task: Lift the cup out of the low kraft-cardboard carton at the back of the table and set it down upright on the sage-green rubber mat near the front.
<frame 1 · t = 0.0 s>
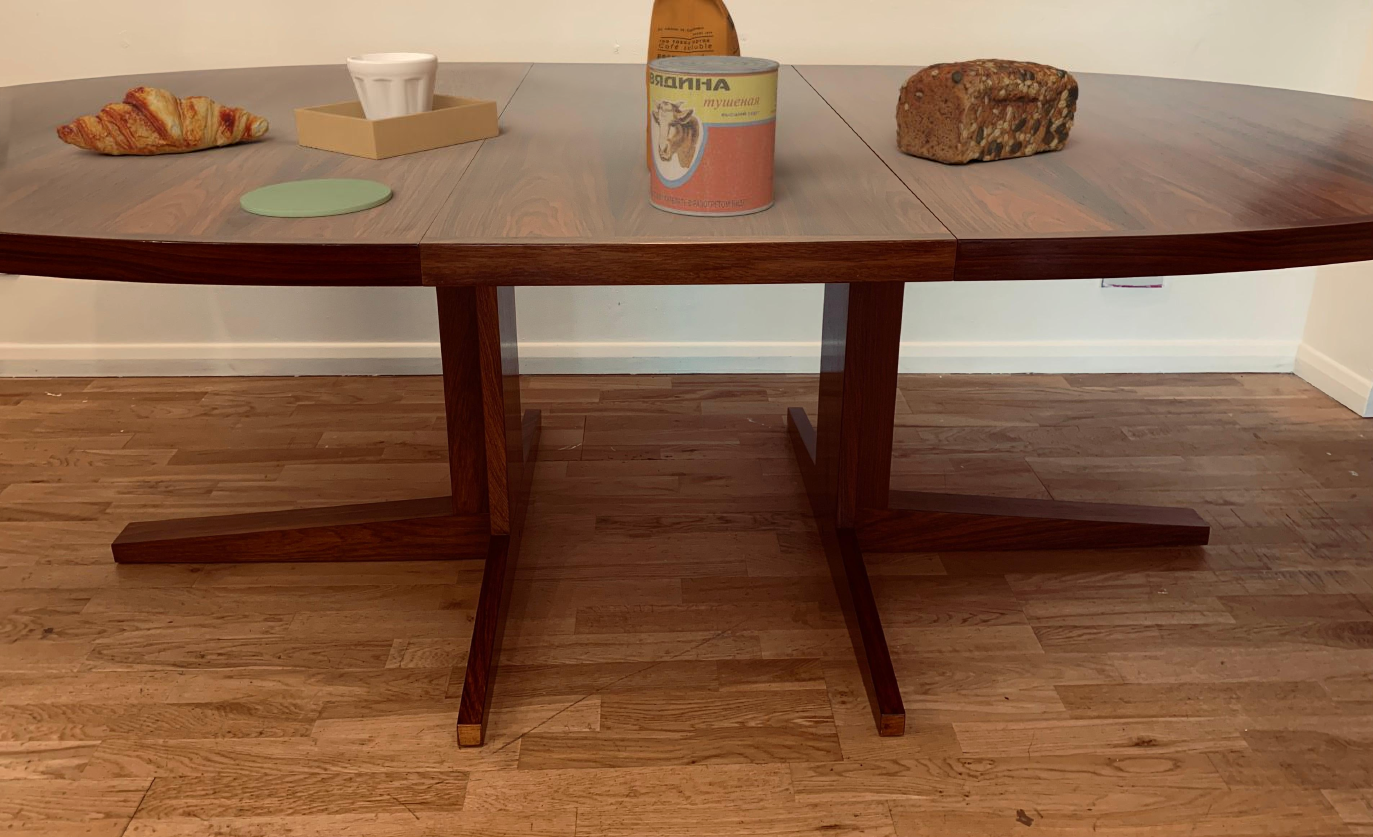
cup: (401, 142, 118), resting in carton
coffee package: (695, 165, 108), on the table
croissant: (172, 150, 113), on the table
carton: (401, 140, 118), on the table
mat: (317, 199, 92), on the table
bread: (981, 153, 114), on the table
canned food: (711, 203, 92), on the table
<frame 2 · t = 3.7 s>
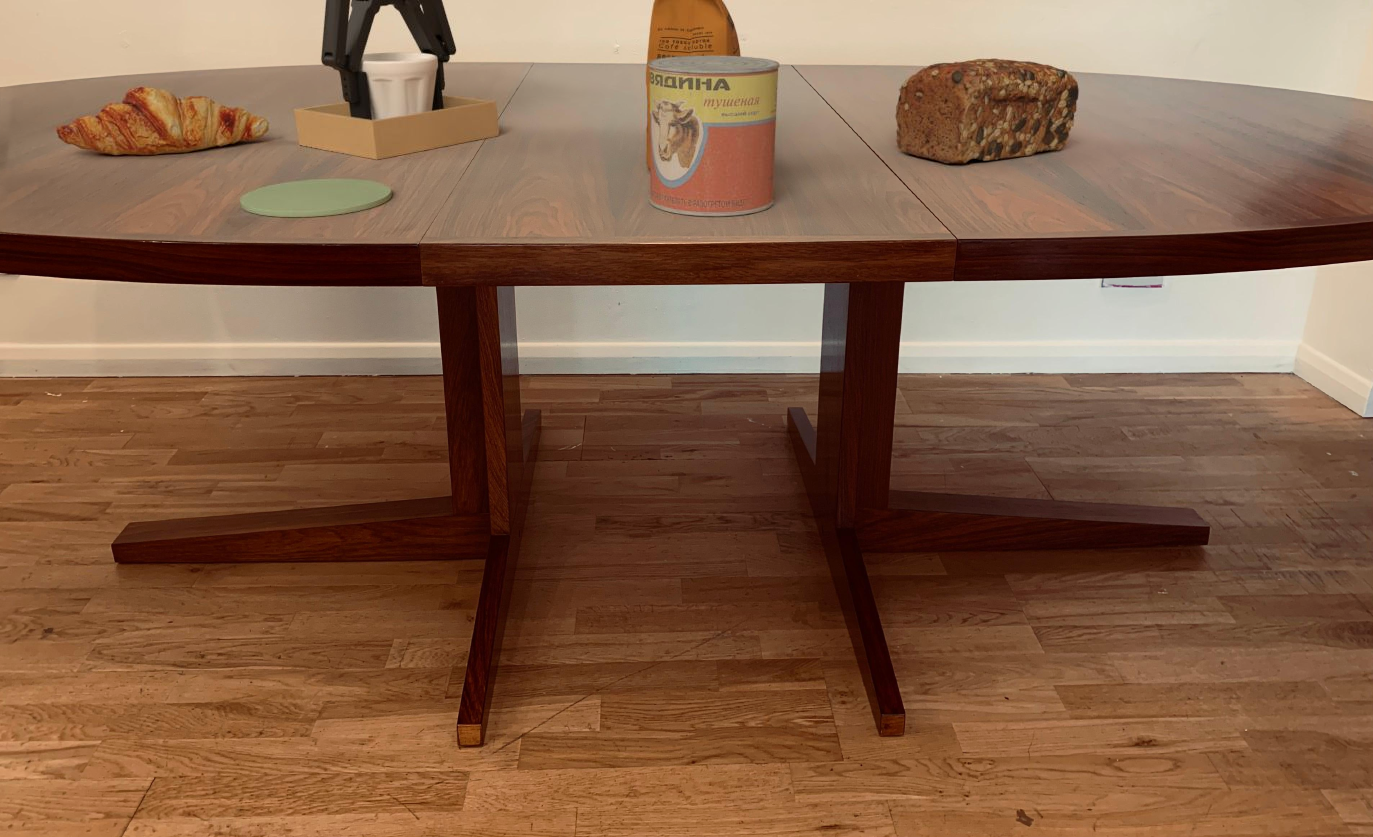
hand: (400, 125, 118), 2 cm above the table, tool pointing down, fingers closed on cup, 10 cm apart
cup: (401, 142, 118), resting in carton, touching gripper
everything else where it was.
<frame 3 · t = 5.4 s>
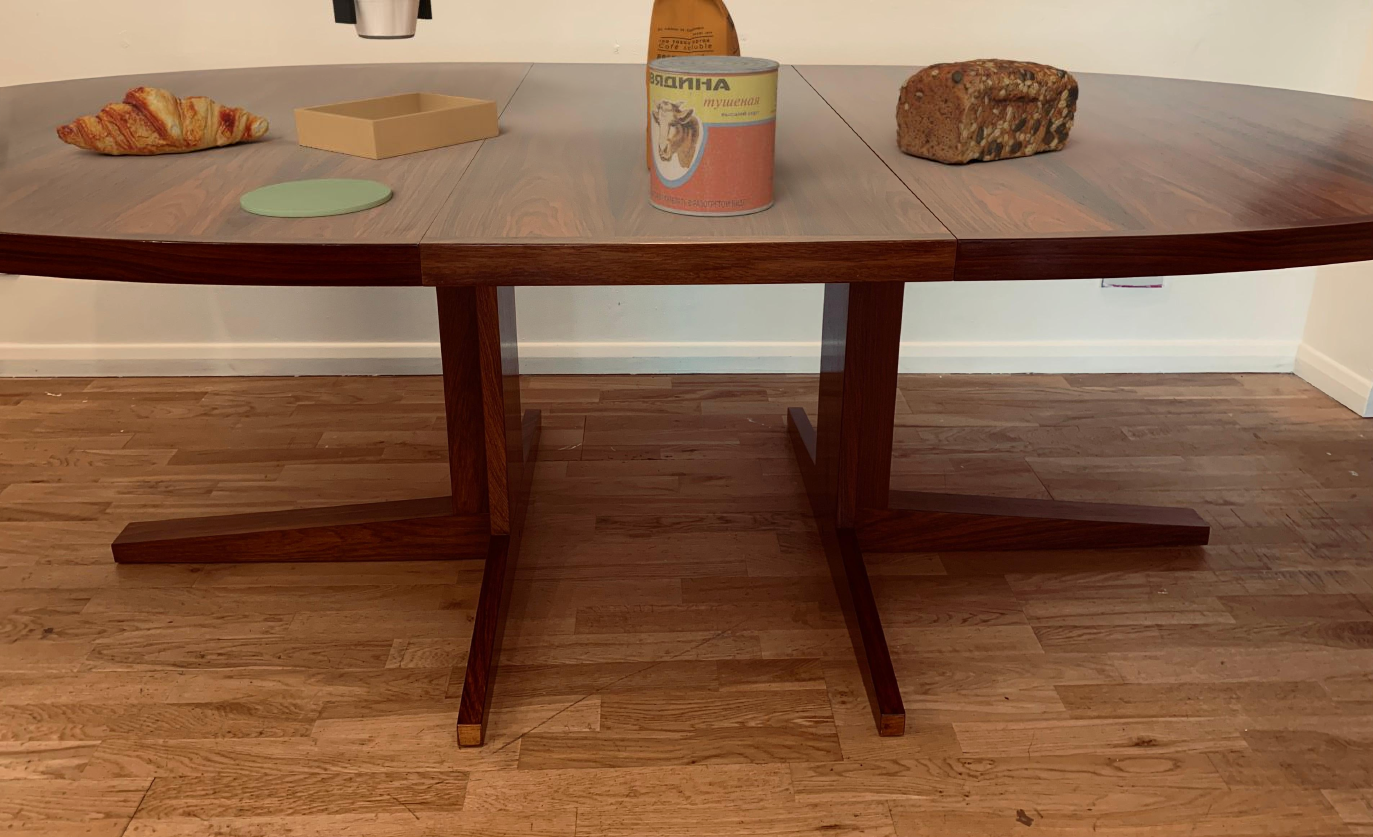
hand: (385, 21, 112), 13 cm above the table, tool pointing down, fingers closed on cup, 10 cm apart
cup: (387, 39, 113), point 11 cm above the table, touching gripper
everything else where it was.
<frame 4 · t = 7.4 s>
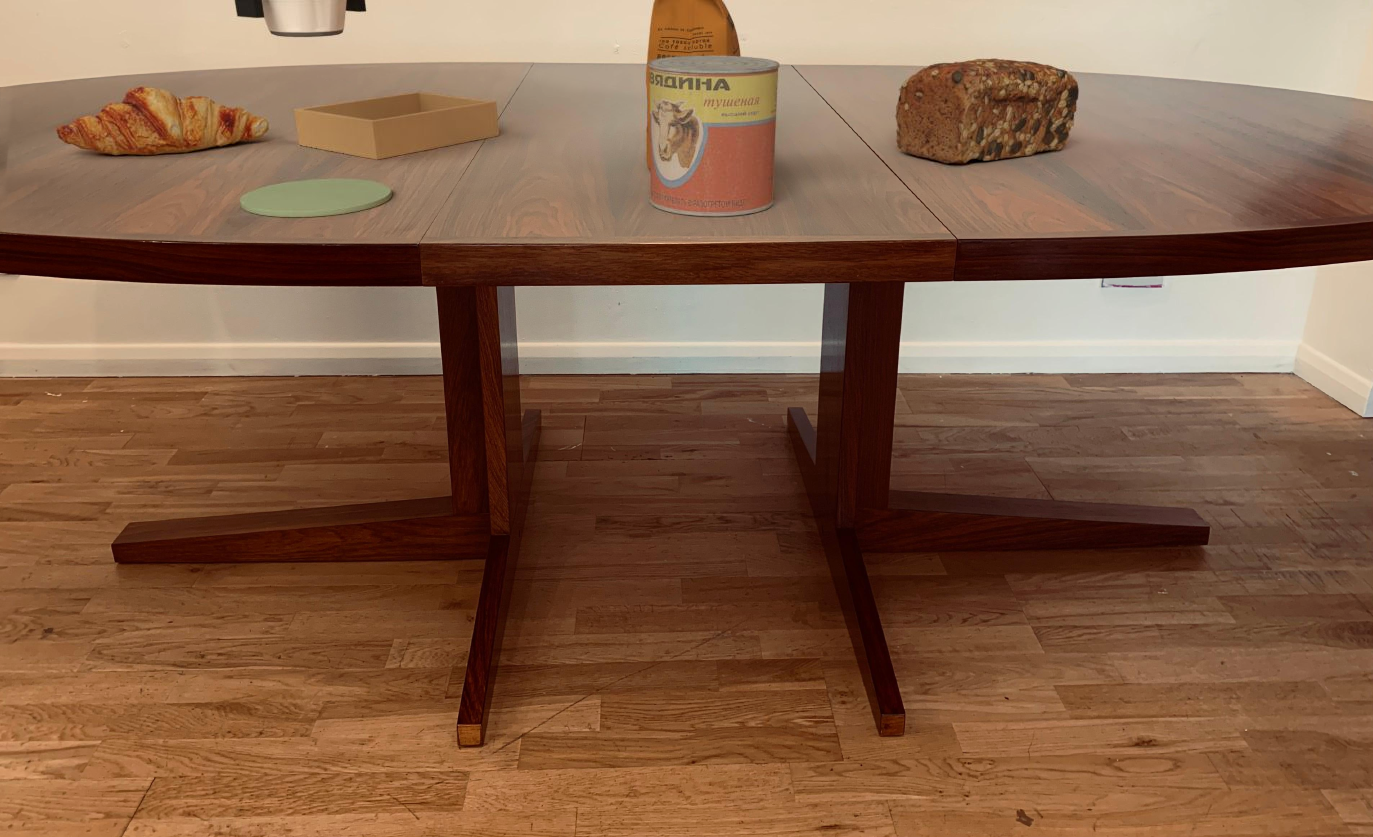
hand: (304, 13, 89), 15 cm above the table, tool pointing down, fingers closed on cup, 10 cm apart
cup: (307, 36, 90), point 14 cm above the table, touching gripper
everything else where it was.
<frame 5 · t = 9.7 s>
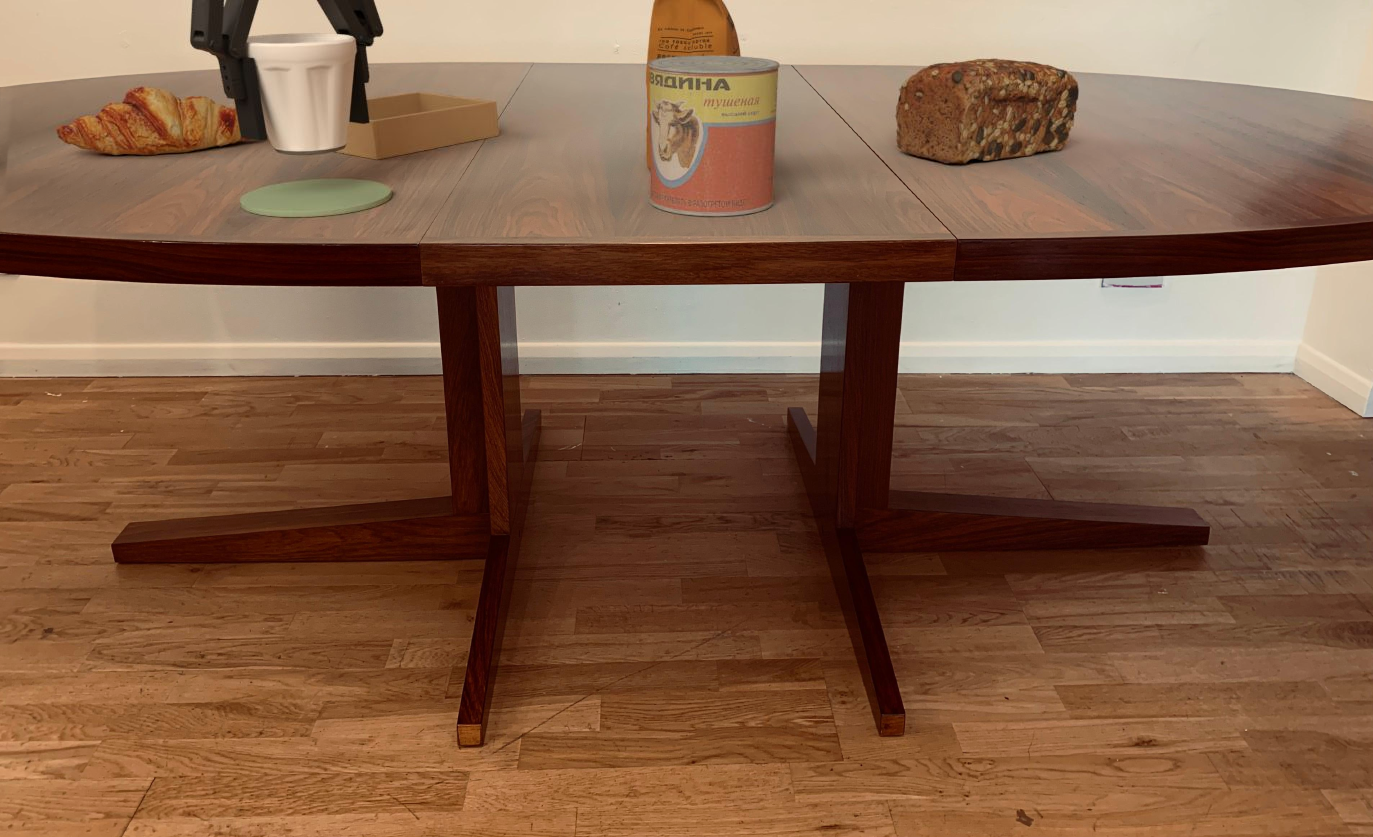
hand: (307, 129, 89), 6 cm above the table, tool pointing down, fingers closed on cup, 10 cm apart
cup: (311, 151, 90), point 4 cm above the table, touching gripper
everything else where it was.
when the fingers open (2 cm above the table, at t = 11.3 s): cup stays where it is, resting on mat.
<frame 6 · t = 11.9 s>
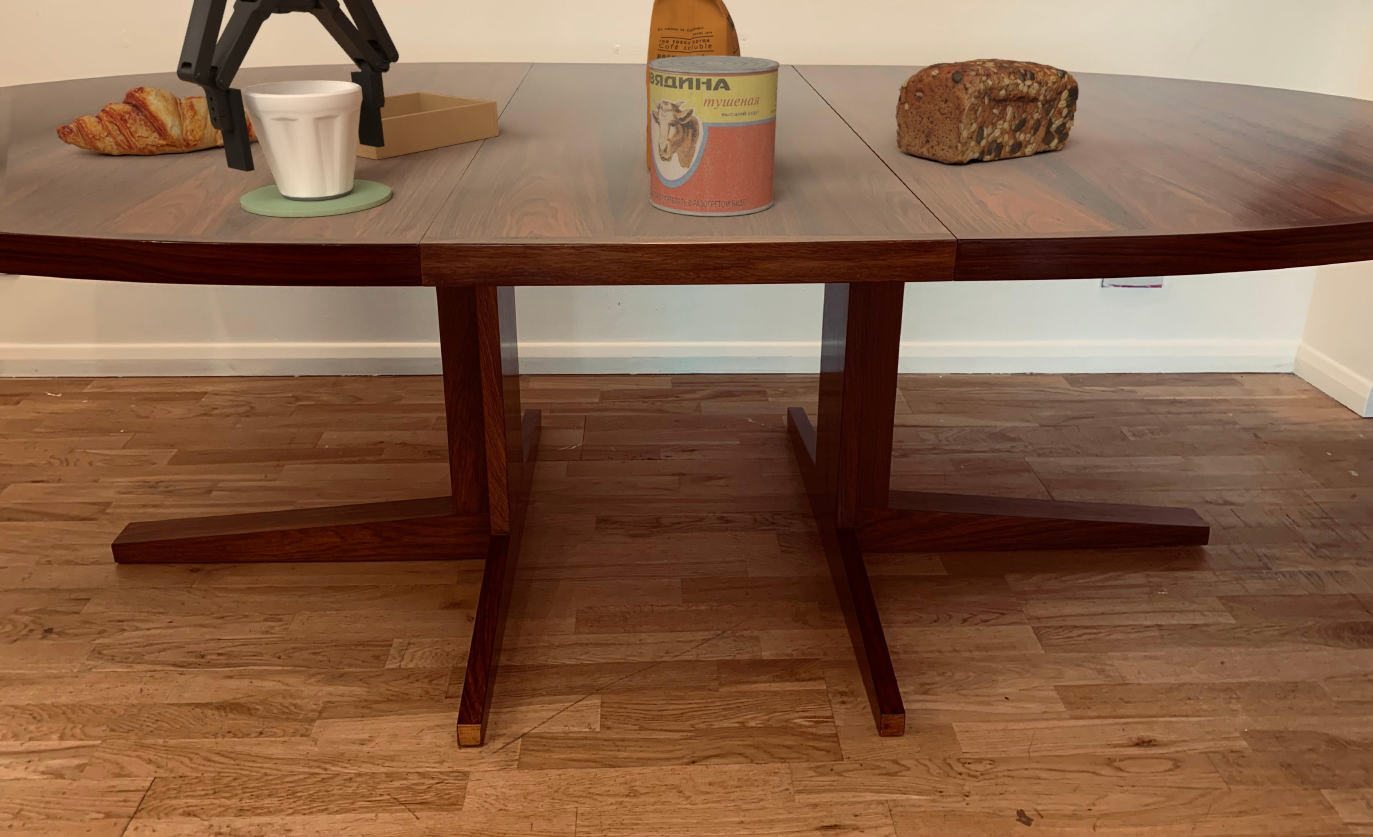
hand: (310, 156, 90), 4 cm above the table, tool pointing down, fingers open, 13 cm apart
cup: (317, 196, 92), resting on mat
everything else where it was.
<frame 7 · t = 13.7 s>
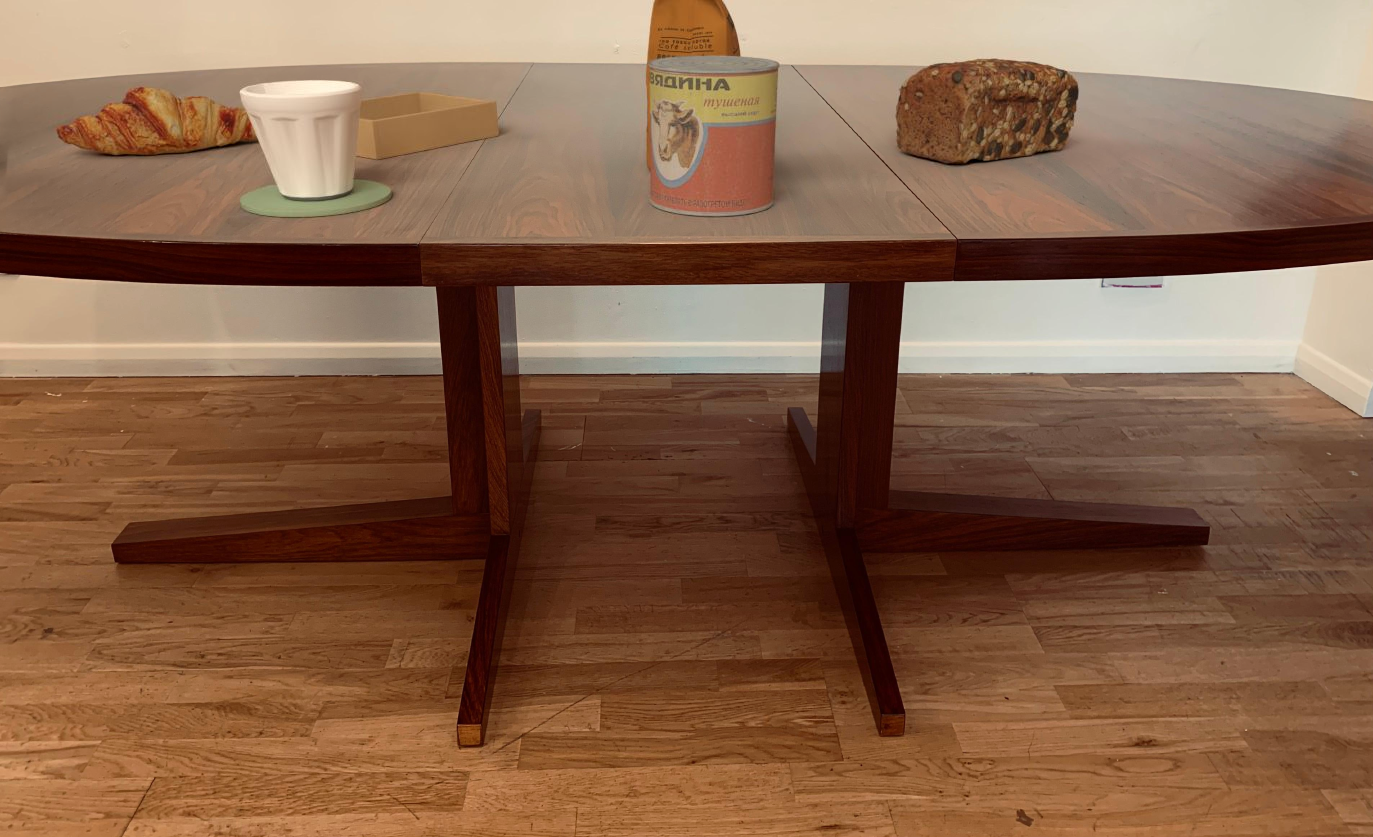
nothing on the table moved.
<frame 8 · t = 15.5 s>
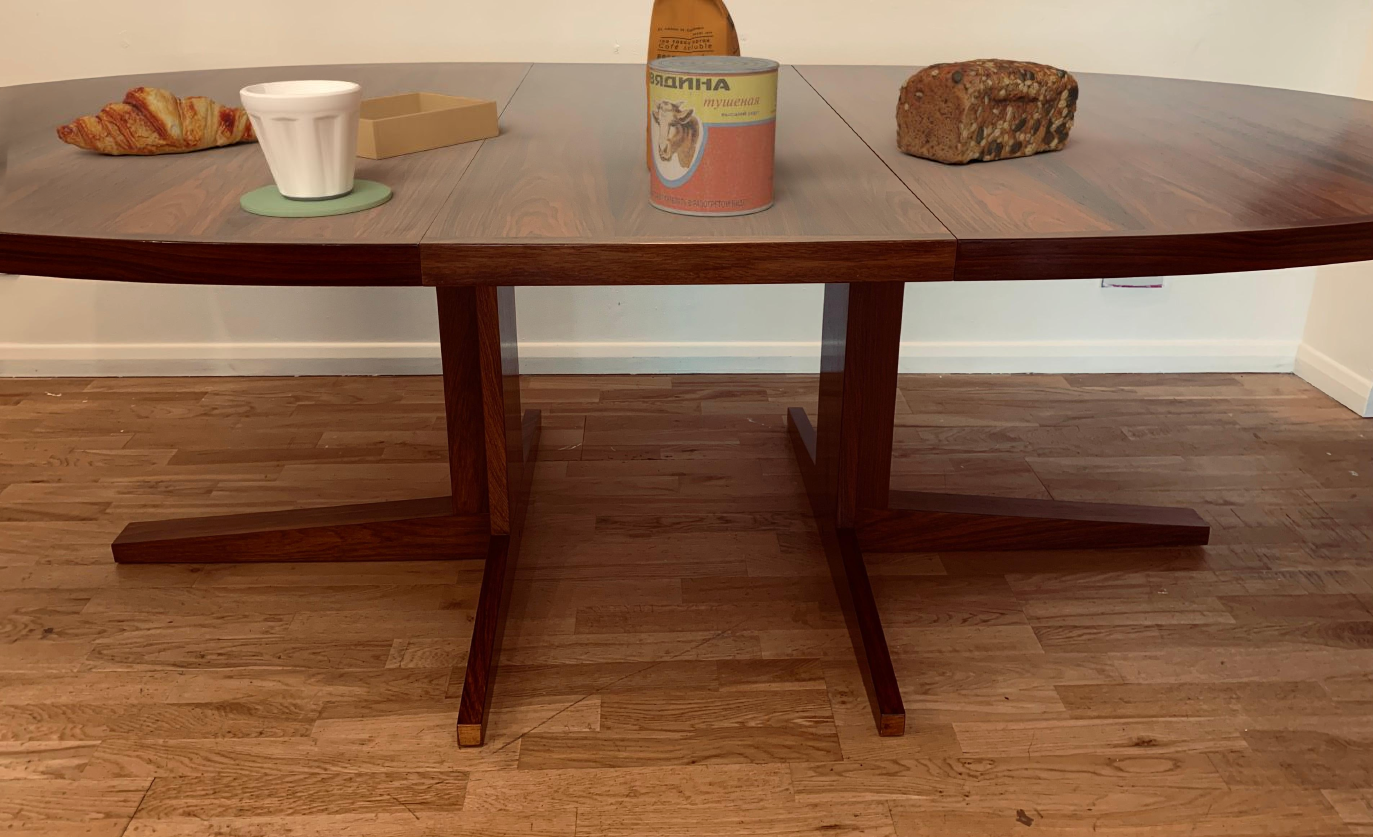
nothing on the table moved.
at the end: cup inside the target area on the mat (0.1 cm from its centre), point 0.3 cm above the mat's base; cup tilted 0°; the gripper is holding nothing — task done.
